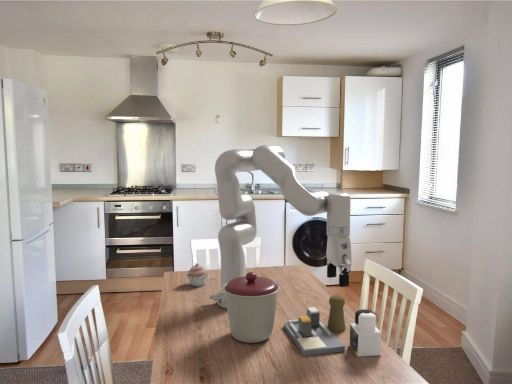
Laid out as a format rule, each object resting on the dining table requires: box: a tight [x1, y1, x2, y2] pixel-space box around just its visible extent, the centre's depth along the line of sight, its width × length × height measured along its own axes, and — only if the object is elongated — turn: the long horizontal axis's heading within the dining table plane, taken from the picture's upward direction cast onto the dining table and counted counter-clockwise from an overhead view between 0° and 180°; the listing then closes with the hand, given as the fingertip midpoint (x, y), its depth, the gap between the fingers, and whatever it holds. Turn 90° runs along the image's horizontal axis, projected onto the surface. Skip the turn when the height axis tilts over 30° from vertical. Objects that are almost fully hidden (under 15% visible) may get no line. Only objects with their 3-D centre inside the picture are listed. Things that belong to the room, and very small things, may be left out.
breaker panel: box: [283, 319, 346, 357], centre depth 129 cm, size 13×20×2 cm, turn 13°
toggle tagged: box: [297, 315, 312, 337], centre depth 128 cm, size 3×4×5 cm
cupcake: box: [186, 262, 208, 288], centre depth 179 cm, size 9×9×10 cm
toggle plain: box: [306, 306, 321, 327], centre depth 135 cm, size 3×4×5 cm
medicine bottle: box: [349, 308, 382, 358], centre depth 120 cm, size 7×7×12 cm
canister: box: [223, 271, 280, 344], centre depth 129 cm, size 18×18×21 cm
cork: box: [326, 294, 346, 333], centre depth 135 cm, size 6×6×11 cm
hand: (337, 281), depth 134 cm, fingers open, 9 cm apart
